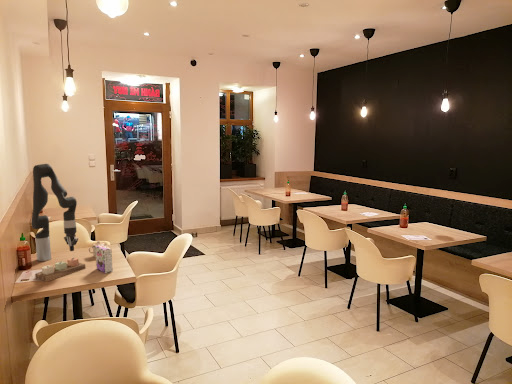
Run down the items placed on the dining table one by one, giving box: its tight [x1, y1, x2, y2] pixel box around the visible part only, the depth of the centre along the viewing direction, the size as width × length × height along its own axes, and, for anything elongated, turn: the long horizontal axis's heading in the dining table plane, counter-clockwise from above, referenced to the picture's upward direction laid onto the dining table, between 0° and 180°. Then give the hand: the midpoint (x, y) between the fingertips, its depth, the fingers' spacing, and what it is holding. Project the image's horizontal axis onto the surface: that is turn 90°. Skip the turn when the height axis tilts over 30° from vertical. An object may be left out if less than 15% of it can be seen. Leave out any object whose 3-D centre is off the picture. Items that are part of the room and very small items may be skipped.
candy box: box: [95, 244, 114, 274], centre depth 262 cm, size 14×6×16 cm, turn 45°
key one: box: [41, 264, 55, 275], centre depth 250 cm, size 5×5×4 cm
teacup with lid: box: [88, 240, 106, 258], centre depth 295 cm, size 12×9×12 cm
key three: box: [66, 257, 80, 267], centre depth 265 cm, size 5×5×4 cm
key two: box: [54, 261, 67, 271], centre depth 258 cm, size 5×5×4 cm
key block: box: [34, 262, 86, 282], centre depth 258 cm, size 12×28×3 cm, turn 150°
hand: (72, 250), depth 264 cm, fingers closed
